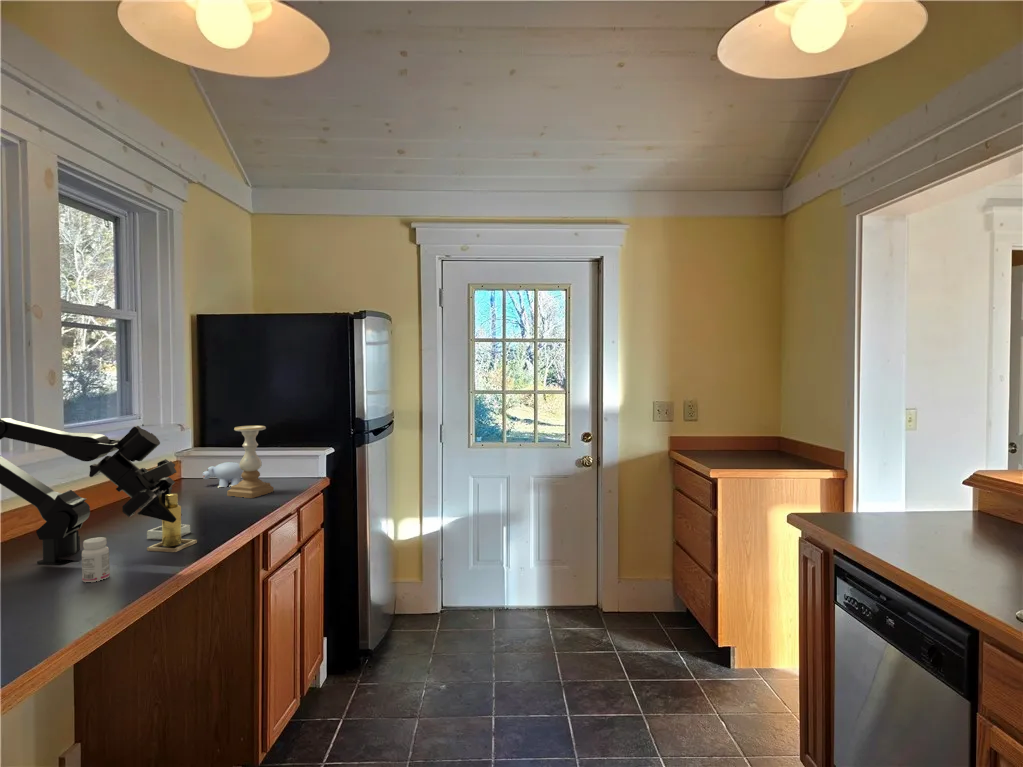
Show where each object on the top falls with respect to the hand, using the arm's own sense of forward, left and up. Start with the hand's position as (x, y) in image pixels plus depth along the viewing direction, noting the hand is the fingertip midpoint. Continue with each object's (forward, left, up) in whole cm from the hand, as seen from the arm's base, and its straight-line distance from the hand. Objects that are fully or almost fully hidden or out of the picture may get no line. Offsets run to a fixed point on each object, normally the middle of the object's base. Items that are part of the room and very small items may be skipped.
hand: (177, 518), depth 140 cm
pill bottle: (-18, +5, -8) cm, 21 cm away
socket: (+8, +9, -8) cm, 14 cm away
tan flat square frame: (0, +1, -8) cm, 8 cm away
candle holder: (+62, +21, -8) cm, 65 cm away
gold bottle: (-1, +1, -6) cm, 6 cm away
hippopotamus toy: (+74, +40, -9) cm, 85 cm away
